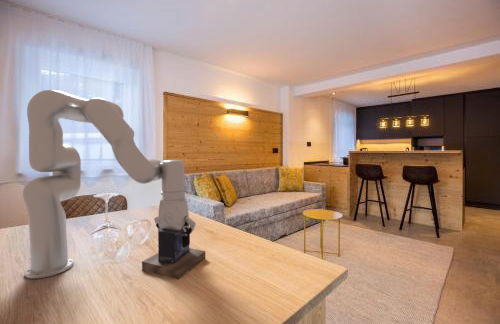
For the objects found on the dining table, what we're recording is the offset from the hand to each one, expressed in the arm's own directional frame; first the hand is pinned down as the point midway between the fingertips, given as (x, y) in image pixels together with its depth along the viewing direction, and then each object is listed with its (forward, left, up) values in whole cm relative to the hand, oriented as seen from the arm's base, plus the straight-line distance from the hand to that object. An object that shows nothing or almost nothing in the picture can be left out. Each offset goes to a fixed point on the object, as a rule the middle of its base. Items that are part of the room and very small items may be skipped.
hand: (174, 244), depth 83 cm
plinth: (0, 0, -7) cm, 7 cm away
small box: (0, 0, -4) cm, 5 cm away
